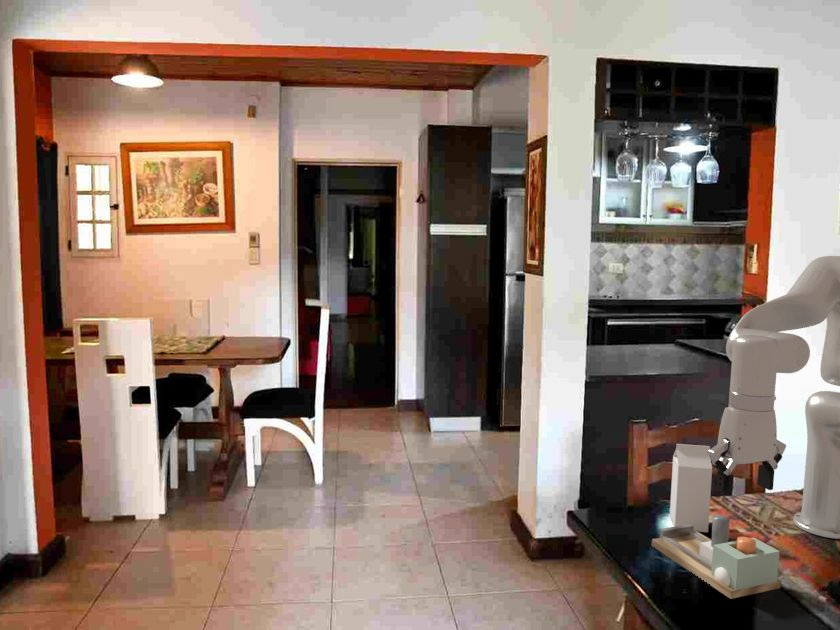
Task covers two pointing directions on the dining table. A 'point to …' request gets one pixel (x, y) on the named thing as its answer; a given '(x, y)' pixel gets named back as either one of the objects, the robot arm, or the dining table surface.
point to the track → (698, 558)
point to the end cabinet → (744, 565)
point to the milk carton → (691, 487)
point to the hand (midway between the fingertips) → (744, 490)
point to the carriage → (715, 536)
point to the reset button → (746, 545)
